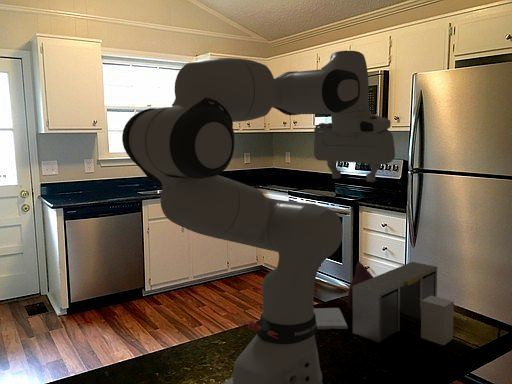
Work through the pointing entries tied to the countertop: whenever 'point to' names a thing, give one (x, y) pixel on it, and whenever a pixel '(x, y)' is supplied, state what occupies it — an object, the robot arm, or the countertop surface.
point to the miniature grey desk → (391, 299)
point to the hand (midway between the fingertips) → (353, 179)
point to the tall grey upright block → (437, 319)
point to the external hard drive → (329, 318)
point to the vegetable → (358, 281)
